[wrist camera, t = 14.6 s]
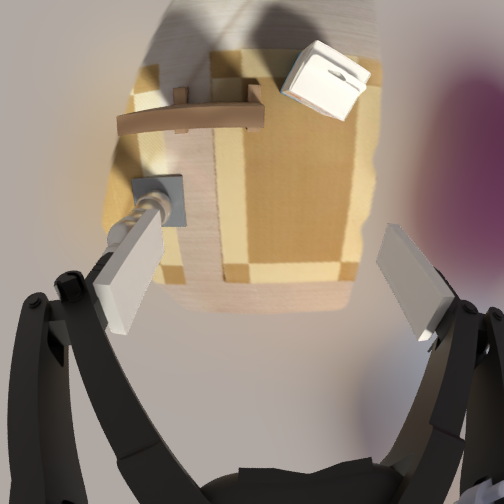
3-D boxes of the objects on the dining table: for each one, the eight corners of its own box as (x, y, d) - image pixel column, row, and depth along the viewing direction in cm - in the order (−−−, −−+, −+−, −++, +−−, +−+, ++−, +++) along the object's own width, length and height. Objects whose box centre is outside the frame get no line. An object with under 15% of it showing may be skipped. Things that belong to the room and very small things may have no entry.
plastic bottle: (168, 224, 52) (130, 290, 35) (137, 209, 50) (89, 269, 33) (180, 196, 49) (142, 256, 32) (148, 180, 47) (96, 232, 30)
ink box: (278, 92, 39) (287, 90, 28) (300, 51, 35) (317, 35, 24) (324, 115, 41) (349, 124, 30) (345, 76, 37) (377, 72, 26)
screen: (175, 88, 39) (115, 87, 20) (260, 85, 39) (265, 74, 20) (177, 132, 43) (121, 164, 24) (259, 130, 43) (263, 159, 24)
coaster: (132, 178, 47) (131, 179, 47) (182, 175, 47) (181, 176, 47) (139, 225, 53) (138, 226, 52) (186, 225, 53) (186, 226, 52)
